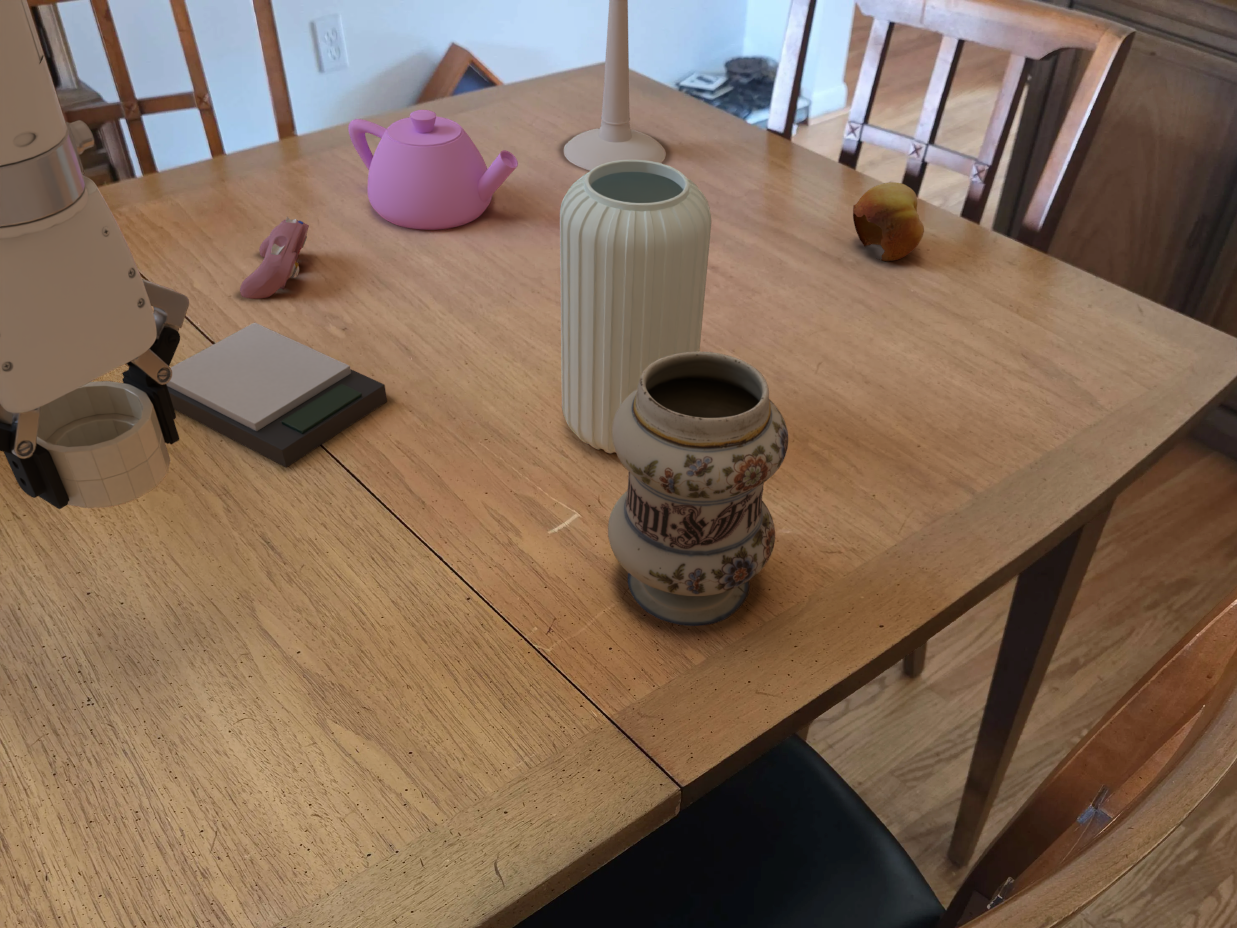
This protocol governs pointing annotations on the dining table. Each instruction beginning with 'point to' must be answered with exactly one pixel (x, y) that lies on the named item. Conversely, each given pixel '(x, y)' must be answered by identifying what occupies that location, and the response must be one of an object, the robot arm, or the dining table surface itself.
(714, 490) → the apothecary jar
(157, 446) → the ring
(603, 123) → the candlestick
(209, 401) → the scale
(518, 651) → the dining table surface
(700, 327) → the vase
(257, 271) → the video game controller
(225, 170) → the dining table surface
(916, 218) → the fruit
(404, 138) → the teapot
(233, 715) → the dining table surface
